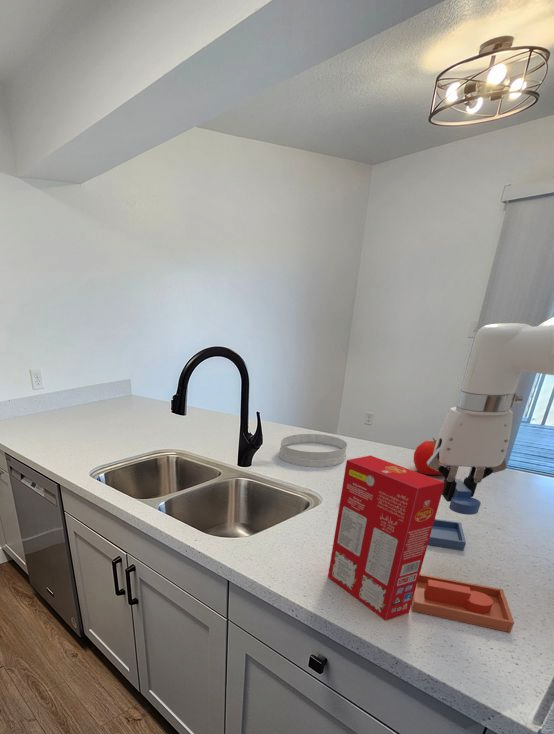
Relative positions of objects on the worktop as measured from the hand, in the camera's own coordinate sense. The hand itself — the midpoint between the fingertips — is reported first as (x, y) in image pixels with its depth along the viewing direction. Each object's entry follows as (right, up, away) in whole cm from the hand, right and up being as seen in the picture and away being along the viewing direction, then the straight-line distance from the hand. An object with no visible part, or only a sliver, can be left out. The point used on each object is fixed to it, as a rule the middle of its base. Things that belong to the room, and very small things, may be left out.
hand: (455, 498), depth 83 cm
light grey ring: (-1, +19, +71) cm, 73 cm away
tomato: (+28, +11, +51) cm, 60 cm away
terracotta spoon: (-3, -19, -5) cm, 20 cm away
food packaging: (-17, -18, 0) cm, 25 cm away
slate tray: (+6, -7, +18) cm, 20 cm away
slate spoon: (0, -1, -1) cm, 2 cm away
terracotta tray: (-3, -20, -4) cm, 20 cm away
